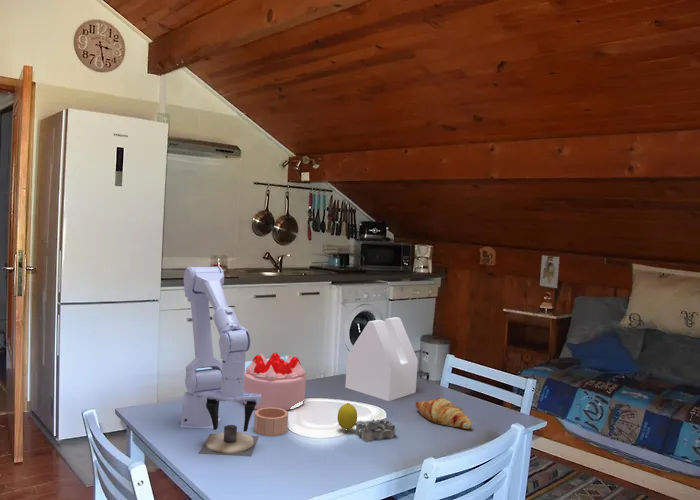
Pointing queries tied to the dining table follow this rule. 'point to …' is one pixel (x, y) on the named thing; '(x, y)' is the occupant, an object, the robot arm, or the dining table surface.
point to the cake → (276, 381)
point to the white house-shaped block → (382, 361)
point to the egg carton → (375, 429)
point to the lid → (229, 441)
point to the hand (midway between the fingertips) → (230, 429)
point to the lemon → (347, 416)
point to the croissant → (444, 413)
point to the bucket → (271, 421)
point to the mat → (246, 453)
